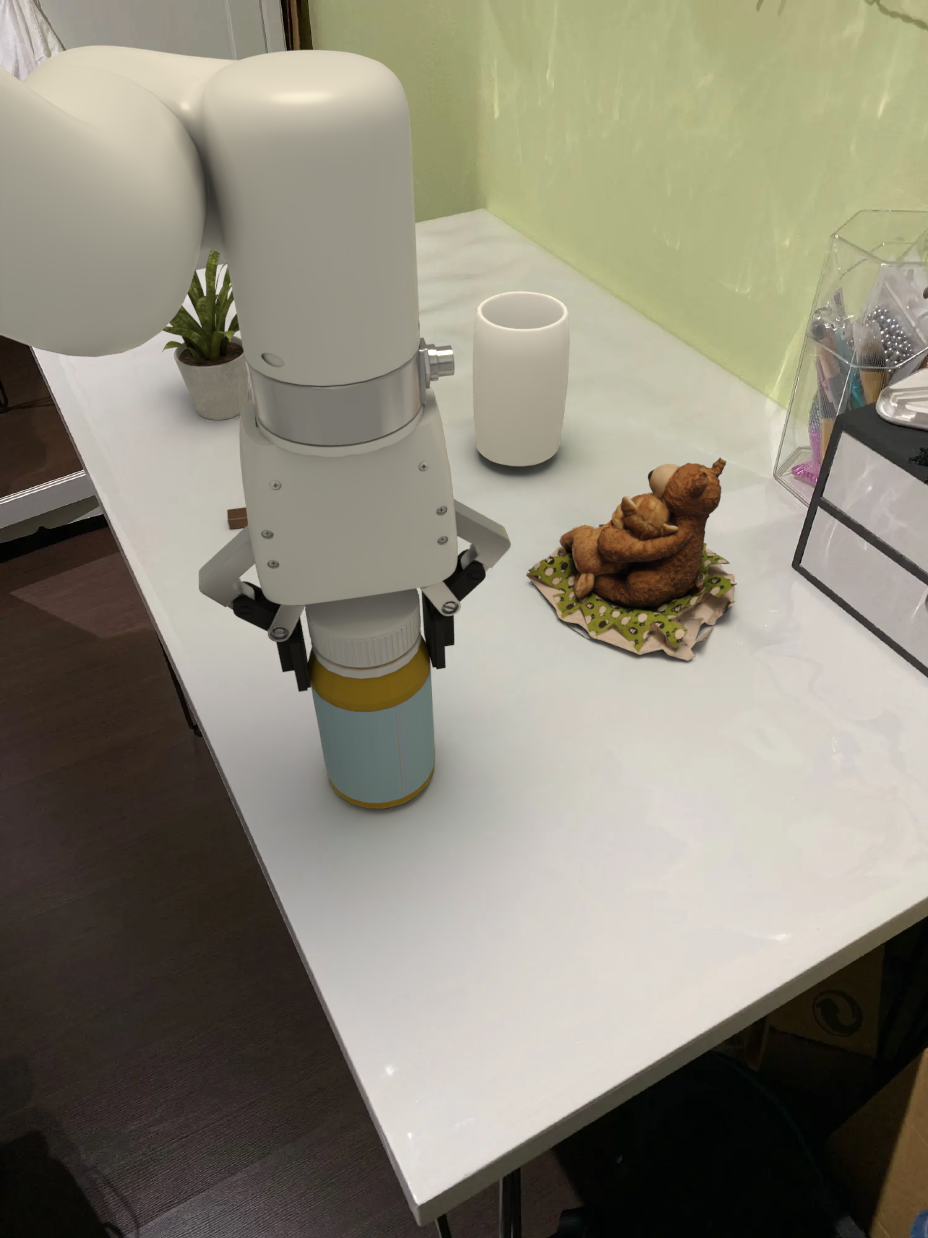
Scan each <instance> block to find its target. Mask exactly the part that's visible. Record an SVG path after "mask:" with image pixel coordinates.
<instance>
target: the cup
mask: <svg viewBox="0 0 928 1238" xmlns="http://www.w3.org/2000/svg"><path fill="white" fill-rule="evenodd" d="M473 327H474V330H473V344H472V399H473V400H472V404H473V405H472V407H473V422H474V424H473V425H474V437H475V446H476V449H477V451H478V452H479V453H480V454H481V455H482V456H483V457H484V458H486V459H487V460H489V461H490V462H493V463H496V464H499V465H504V466H509V467H528V466H535V465H538V464H541V463H544V462H546V461H547V460H550V459H551V458H553V456H554V455H556V453H557V452H558V451H559V448H560V445H561V439H562V432H563V426H564V420H565V419H564V417H565V412H566V411H565V410H566V402H567V392H568V383H569V382H568V381H569V373H570V372H569V371H570V348H571V347H570V343H571V339H570V336H571V334H570V313H569V309H568V308H567V306H566V304H564V303H563V302H562V301H561V300H559V299H557V298H556V297H553V296H552V295H549V294H545V293H541V292H540V293H539V292H534V291H507V292H503V293H498V294H495V295H492V296H489V297H488V298H486V299H485V300H483V301H481V303H480V304H479V305H478V306H477V308H476V309H475V318H474V326H473Z"/></svg>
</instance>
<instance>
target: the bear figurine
mask: <svg viewBox="0 0 928 1238" xmlns="http://www.w3.org/2000/svg"><path fill="white" fill-rule="evenodd" d="M726 466H727V460H724V459H723V458H721V457H719V458H718V459H717V460H716V461H715V462H713V463H712V465H711V467H707V466H706V465H704V464H700V463H692V462H686V463H685V464H683V465H677V464H673V463H665V464H661V465H659V466H658V467H655V468H653V469H652V470H650V471H649V472H648V474H647V480H648V485H649V486H648V487H649V489H650V492H648V493H642V494H637V495H635V496H633V497H630V496H626V495H625V496H623V497H622V498H621V502H620V503H619V504H618V505H617V506H616V508H615V510H614V511H613V512H612V515H611V519H610V520H609V521H608V522H606V523H604V524H603V523H599V524H598V526H594V525H587V524H584V525H583V524H582V525H579V526H578V525H577V526H574V527H572V529H570V530H569V531H567V532H566V533H564V534H562V535H561V536H560V538H559V544H560V546H558V547H557V548H556V549H555V550H554V551H553V552H552V553H551V554H549V556H548V557H546V558H543V559H541V560H540V561H538V562H537V563H535V564H534V565H533V566H532V567H531V568H529V569H528V572H527V573H526V574H525V577H527V578H528V580H529V581H530V582H531V583H532V584H533V585H534V586H535V587H536V588H537V589H538V590H539V592H541V594H542V595H543V596H544V597H545V598H546V599H547V601H548V602H549V603H550V604H551V605H552V606H553V608H554V609H555V612H556V615H557V618H559V619H560V620H562V621H563V622H565V623H569V625H570V623H571V624H578V626H580V627H582V628H583V629H584V630H586V632H588V635H589V636H588V635H586V634H585V633H583V632H581V631H580V630H579V629H577V631H579V632H580V633H581V634H583V635H584V636H586V637H587V638H588V639H596V640H599V641H603V642H606V643H608V644H611V645H613V646H615V647H619V648H621V649H624V650H627V651H630V652H632V653H635V654H637V655H639V656H641V655H644V654H647V653H648V654H649V653H651V652H657V651H661V650H663V651H664V652H665V654H666V655H668V656H671V657H673V658H677V659H680V660H683V661H687V662H688V661H690V660H692V659H694V658H697V656H696V655H695V654H694V651H692V648H693V647H694V646H695V644H696V643H699V642H704V641H705V640H706V638H708V635H709V634H710V633H711V631H712V629H713V628H714V626H715V625H716V623H717V620H718V619H719V618H720V617H722V616H723V615H724V614H725V613H727V612H728V610H729V608H730V607H733V606H734V605H735V603H736V600H734V596H735V586H736V585H738V583H737V582H736V577H735V574H733V573H728V572H726V571H725V569H724V568H723V566H722V565H730V564H731V563H730V562H729V561H728V560H727V559H726V558H724V557H723V556H720V555H719V554H717V553H716V552H714V551H713V550H712V549H709V548H707V545H708V543H707V542H705V537H706V526H707V522H708V519H709V518H710V515H711V514H712V513H714V511H715V510H716V509H717V508H718V507H719V505H720V502H721V498H722V487H721V483H720V480H721V479H719V477H720V476H721V475H723V471H724V469H725V467H726ZM704 623H705V624H706V625H709V626H712V627H710V628H709V629H708V630H707V631H705V633H703V634H702V635H701V636H700V637H699V638H697V637H698V634H699V631H700V629H701V626H702V625H703V624H704ZM570 626H571V627H572V625H570Z"/></svg>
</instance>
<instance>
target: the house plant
mask: <svg viewBox="0 0 928 1238" xmlns="http://www.w3.org/2000/svg"><path fill="white" fill-rule="evenodd" d="M220 257H221V254H220V253H218V252H216V251H214V250H209V254H208V257H207V261H206V266H205V272H204V277H205V292H204V289H203V286H202V283H201V281H200V277H199V275H198V272H197V270H196V269H195V271H194V275H193V278H192V282H191V285H190V289H189V291H188V293H187V296H188V298H189V300H190V303H191V305H192V308H193V309H194V311H195V313H196V316H197V318H198V320H199V322H198V321H197V320H196V319H195V318H194V316H193V315H191V314H190V313H189V311H188V310H187V309H186V308H185V307H184V306H183V305H182V306H181V308H180V309H179V311H178V313H177V314H176V315H175V317H174V318H173V319H172V320H171V321H170V322H169V323H168V324H169V325H170V326H168V325H167V326H166V327H165V328H164V329H163V330H162V331H161V332H166V333H167V334H168V333H169V334H172V335H176V336H180V337H181V338H182V340H183V342H182V343H181V342H178V341H175V340H170V341H168V342H167V343H166V344H165V346H164V347H163V349H162V351H161V353H163V352H164V351H166V350H168V349H174V348H175V350H174V351H173V359H174V361H175V363H176V365H177V367H178V370H179V372H180V374H181V377H182V379H183V381H184V384H185V387H186V389H187V391H188V393H189V395H190V398H191V400H192V403H193V405H194V407H195V409H196V412H197V413H198V415H199V416H200V417H202V418H204V419H206V420H212V421H213V420H214V421H223V420H230V419H232V418H235V417H237V416H240V412H241V408H242V407H243V405H244V404H245V403H246V402H247V401H248V400H249V378H248V373H247V367H246V362H245V355H244V350H243V345H242V340H241V337H239V336H236V335H235V334H236V333H237V332H240V329H239V324H238V318H237V313H235V315H234V316H233V317H232V319H231V321H230V323H229V326H228V329H227V330H226V321H227V316H228V312H229V310H230V307H231V305H232V304H233V303H234V297H233V292H232V290H231V289H232V286H231V281H230V276H229V271H228V266H227V263H226V262H224V263H223V265H222V266H221V267H220V270H219V273H218V274H217V270H218V265H219V261H220ZM225 266H227V267H226V270H225V273H224V276H223V281H222V286H221V288H220V290H219V292H218V293H217V288H218V283H219V278H220V274H221V271H222V270H223V268H224V267H225ZM216 278H217V279H216ZM230 290H231V291H230ZM229 292H230V293H229Z"/></svg>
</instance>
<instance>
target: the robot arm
mask: <svg viewBox="0 0 928 1238" xmlns="http://www.w3.org/2000/svg"><path fill="white" fill-rule="evenodd" d="M409 105H410V104H409V102H408V97H407V94H406V91H405V89H404V87H403V85H402V82H401V81H400V80H399V78H398V77H397V75H396V73H394V72H393V71H392V70H391V69H390V68H388V67H387V65H385V64H384V63H383V62H381V61H378V60H376V59H374V58H370V57H368V56H364V55H361V54H359V53H353V52H348V51H340V50H329V49H328V50H327V49H297V50H285V51H284V50H283V51H276V52H275V51H273V52H268V53H267V52H266V53H262V54H256V55H253V56H247V57H245V58H242V59H227V58H226V59H225V58H216V57H215V58H214V57H203V56H195V55H187V54H178V53H172V52H166V51H158V50H152V49H151V50H150V49H145V48H138V47H128V46H121V45H120V46H119V45H103V44H102V45H86V46H78V47H74V48H68V49H66V50H63V51H60V52H58V53H57V54H54V55H51V56H50V57H48V58H47V59H45V60H43V61H42V62H41V63H39V64H38V65H37V66H36V67H35V68H34V69H33V70H32V71H31V72H30V73H29V74H28V75H27V76H26V77H25V78H24V80H23V81H21V80H20V79H19V78H17V77H16V76H15V75H13V74H12V73H10V72H9V71H7V70H6V69H5V68H3V67H2V66H0V336H1V337H4V338H7V339H10V340H13V341H16V342H18V343H21V344H24V345H27V346H29V347H32V348H35V349H38V350H40V351H45V352H51V353H55V354H59V355H63V356H68V357H69V356H70V357H86V358H98V357H99V358H100V357H105V356H112V355H118V354H123V353H127V352H128V351H131V350H134V349H135V348H138V347H141V346H142V345H145V344H146V343H147V342H149V341H150V340H152V339H153V338H154V337H156V336H158V335H159V334H161V333H162V332H163V331H162V330H163V329H164V328H165V327H166V326H168V325H169V324H170V323H169V322H170V321H171V320H172V319H173V318H174V317H175V315H176V314H177V313H178V311H179V309H180V308H181V306H183V304H184V302H185V300H186V297H187V296H188V294H187V293H188V291H189V289H190V285H191V282H192V278H193V275H194V271H195V270H196V268H197V264H198V260H199V256H200V253H202V252H204V251H211V250H214V251H216V252H218V253H220V256H222V258H223V259H224V261H225V263H227V264H226V266H227V267H228V271H229V276H230V281H231V283H230V285H231V286H232V287H231V291H232V292H233V297H234V300H233V303H234V307H235V312H236V313H237V318H238V324H239V329H240V330H239V333H240V339H241V340H242V345H243V350H244V355H245V362H246V367H247V373H248V384H249V388H250V393H251V398H248V401H247V402H246V403H245V404H244V405H243V407H242V408H241V412H240V414H239V426H238V428H239V431H238V436H239V437H238V438H239V460H240V462H239V463H240V470H241V481H242V488H243V495H244V503H245V504H244V505H245V507H246V511H247V518H248V525H247V526H246V527H243V529H242V530H240V531H239V533H237V534H236V535H235V536H234V537H233V538H232V539H230V541H228V542H227V543H226V544H225V545H224V546H223V547H222V548H221V549H219V551H217V553H216V554H214V555H213V556H212V558H210V559H209V560H208V561H207V562H205V564H203V565H202V566H201V567H200V568H199V570H198V590H199V592H200V593H201V594H202V595H204V596H206V598H209V599H211V600H212V601H214V602H215V603H218V605H219V604H220V605H221V606H223V607H224V608H229V609H231V610H232V612H233V614H234V616H235V617H237V618H238V619H241V620H243V621H244V622H246V623H249V624H251V625H253V626H255V627H257V628H259V629H261V630H263V631H266V632H267V637H268V639H269V640H270V641H272V642H274V643H275V644H276V648H277V652H278V657H279V662H280V667H281V671H282V673H286V672H287V673H288V672H293V671H294V676H295V681H296V685H297V690H298V693H301V692H306V691H309V689H311V683H310V675H309V668H308V660H309V658H308V652H307V648H306V641H305V636H304V630H303V625H302V619H301V615H302V613H303V612H304V610H305V605H306V604H314V603H321V602H329V601H336V600H343V599H350V598H357V597H364V596H371V595H377V594H384V593H390V592H397V591H403V590H409V589H415V588H417V589H420V590H421V591H420V592H421V607H422V623H423V625H422V627H423V638H424V640H425V642H426V644H427V647H428V650H429V654H430V662H431V668H432V669H434V668H435V669H436V670H442V669H443V670H444V669H446V665H447V664H446V663H447V662H446V647H452V646H455V615H457V614H458V613H459V612H460V610H461V608H462V605H461V604H462V603H461V602H462V601H463V600H464V599H465V598H466V597H467V596H468V595H470V593H471V592H473V591H474V590H475V589H476V588H477V587H478V586H479V585H480V584H481V583H482V582H483V581H485V579H486V577H487V572H488V570H489V569H492V568H493V567H494V566H495V565H496V564H497V562H499V561H500V560H501V559H502V558H503V557H504V556H505V555H506V553H507V552H508V551H510V549H511V546H512V543H511V540H510V537H509V535H508V533H507V529H506V528H505V527H504V526H503V525H501V524H500V523H499V522H496V521H494V520H493V519H491V518H489V517H487V516H486V515H483V514H482V513H480V512H478V511H477V510H475V509H473V508H471V507H469V506H467V505H466V504H464V503H462V502H461V501H458V500H456V499H455V498H454V497H455V496H454V489H453V481H452V480H453V479H452V473H451V472H452V471H451V466H450V460H449V455H448V449H447V443H446V437H445V431H444V426H443V421H442V417H441V416H442V415H441V412H440V409H439V403H438V400H437V398H436V394H435V391H434V389H433V388H432V387H431V382H435V381H438V380H439V378H442V377H450V376H454V375H455V369H456V368H455V366H456V365H455V356H454V350H453V348H452V345H450V344H449V345H440V346H439V345H438V346H436V345H435V343H427V342H426V340H425V338H424V337H421V325H420V323H421V322H420V303H419V301H420V300H419V279H418V277H419V276H418V258H417V255H418V254H417V234H416V232H417V231H416V211H415V209H416V208H415V186H414V185H415V184H414V168H413V167H414V166H413V161H414V160H413V141H412V126H411V116H410V113H411V112H410V106H409ZM236 313H235V314H236ZM458 538H460V539H462V540H464V541H465V542H468V543H470V545H469V548H467V549H464V550H461V552H460V553H459V545H458ZM254 565H255V569H256V575H257V579H258V582H259V585H260V586H258V585H256V584H254V583H252V582H250V581H244V580H241V577H242V576H243V575H244V574H245V573H246V572H248V571H249V570H250V569H251V568H252V567H253V566H254Z"/></svg>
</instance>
